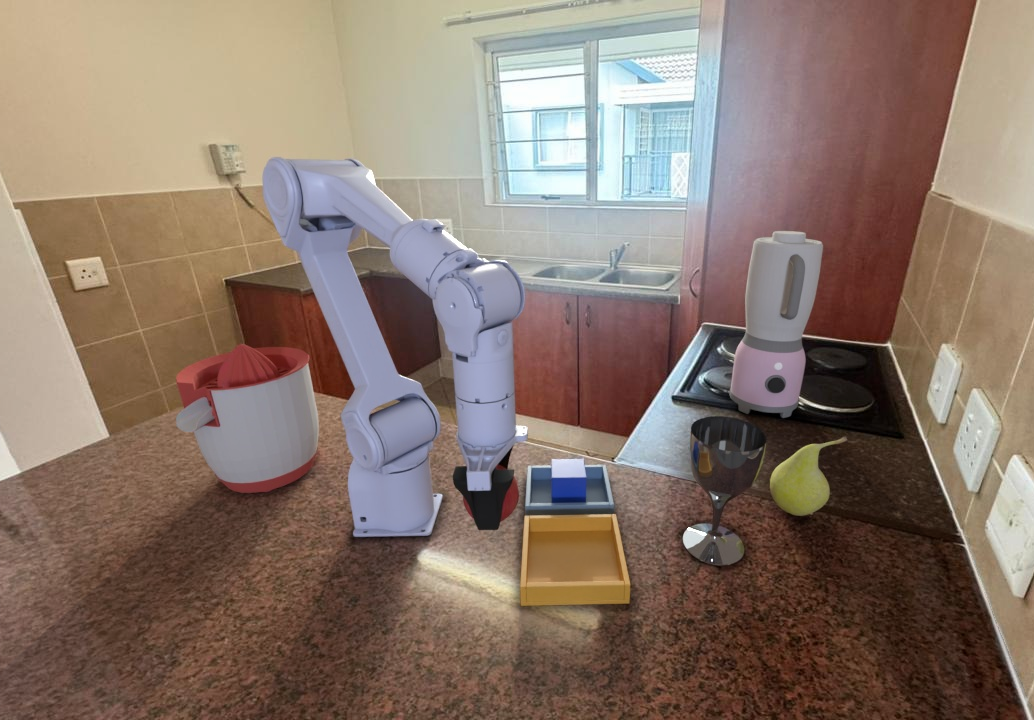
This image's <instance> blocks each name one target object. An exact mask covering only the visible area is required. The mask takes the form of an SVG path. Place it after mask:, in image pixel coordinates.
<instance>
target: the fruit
mask: <svg viewBox="0 0 1034 720" xmlns="http://www.w3.org/2000/svg"><path fill="white" fill-rule="evenodd" d="M846 441H848V439H847V437H846V436H842V437H841V438H840V439H837V440H832V441H828V442H825V443H824V442H823V443H811V444H807V445H804V446H803V447H801V448H800V449H798V450H797V451H795V453H794V454H792V455H791V456H790V457H789V458H787V459H786V460H784V461H782V462H781V463H779V465H777V466H776V467H775V469H774V470H773V471H772V473H771V475H770V479H769V489H770V490H769V491H770V495H771V498H772V500H773V501H774V502H775V504H776V505H777V506H778V507H779V508H780V509H781V510H782V511H784V512H785V513H788V514H790V515H793V516H797V517H798V516H799V517H804V516H808V515H810V514H813V513H815V512H817V511H819V510H820V509H821V508H823V507H824V506H825V505H826V503H827V502H828V501H829V498H830V494H831V493H830V492H831V490H830V484H829V482H828V480H827V478H826V477H825V474H824V473H823V472H822V471H821V469H820V468H819V455H820V452H821V449H823V448H825V447H828V446H832V445H838V444H842V443H845V442H846Z"/></svg>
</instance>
